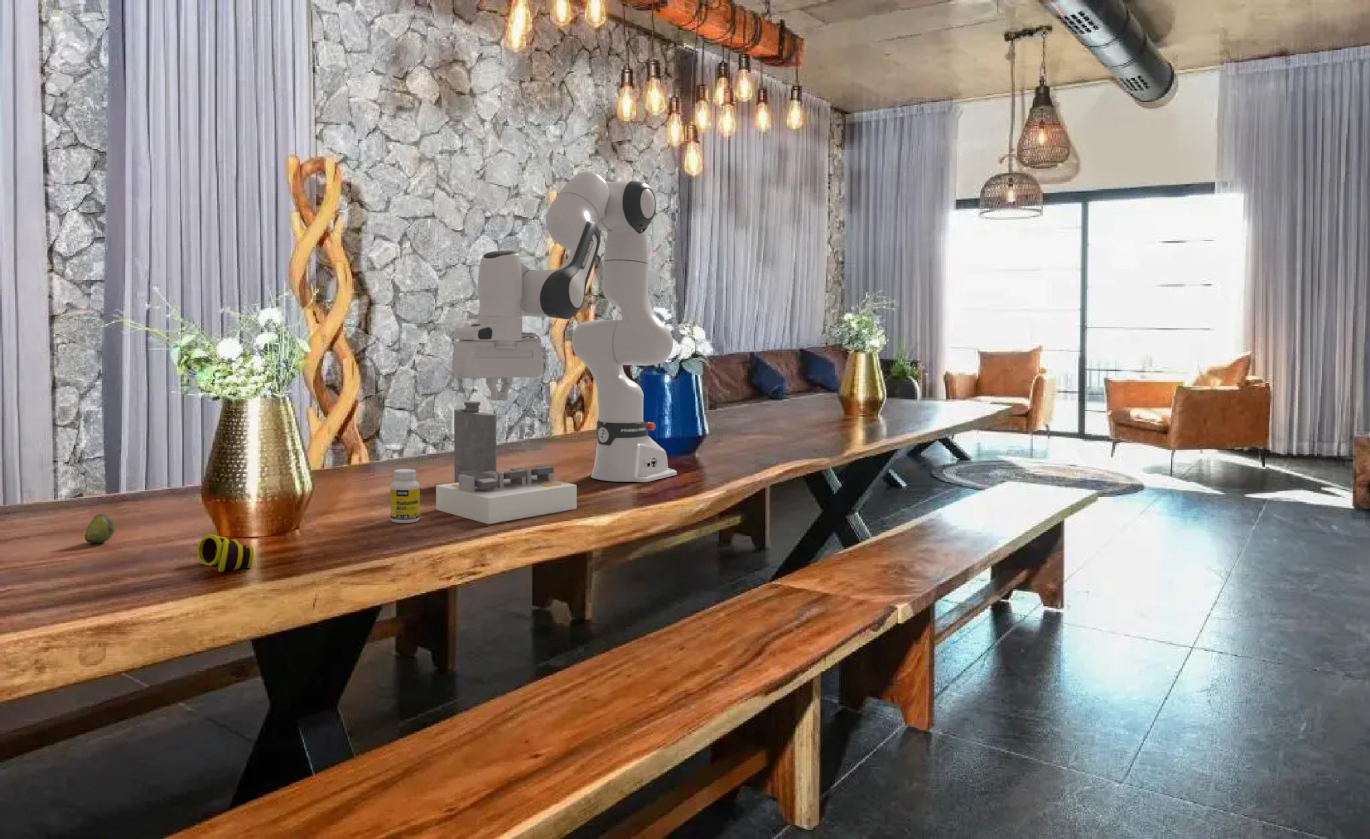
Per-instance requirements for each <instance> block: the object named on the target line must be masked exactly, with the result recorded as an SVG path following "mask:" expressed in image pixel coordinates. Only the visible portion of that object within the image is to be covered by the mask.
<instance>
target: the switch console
mask: <svg viewBox="0 0 1370 839" xmlns="http://www.w3.org/2000/svg"><path fill="white" fill-rule="evenodd" d="M542 467H551V466H550V465H545V464H537V465H536V468H542ZM531 469H532V468H524V467H520V466H518V467H512V468H509V470H510V471H518V470H524V471H527V477H521V478H513V479H504V472H501V471H497V472H496V471H488V472H482V473H483V474H485V475H487V476H489V477H491V478H493V479H495V480H497V481H499V485H498V487H496V488H489V489H482V490H481V489H479V488H477V487H476V486H475V477H472V476H468V475H463V474H462V475H459V482H458V483H455V482H453V483H452V482H451V483H444V484H436V485H435V497H436V498H435V510H437V511H440V512H443V513H447V514H451V515H454V516H458V517H461V518H465V519H468V520H473V521H476V522H480V523H483V524H487V525H491V524H497V523H503V522H507V521H514V520H520V519H524V518H530V517H537V516H543V515H544V516H545V515H548V514H555V513H560V512H566V511H571V510H577V509H578V508H577V507H578V506H577V502H578V501H577V499H578V498H577V496H578V495H577V493H578V488H577V487H578V486H577V484H573V483H569V482H565V481H559V480H555V479H553V478H554V476H553V475H554V473H550V474H543V475H533V476H531V472H532V470H531ZM510 471H509V472H510Z"/></svg>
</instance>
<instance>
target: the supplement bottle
mask: <svg viewBox="0 0 1370 839" xmlns="http://www.w3.org/2000/svg"><path fill="white" fill-rule="evenodd" d="M393 472H394V474H393V475H394V476H393V477H394V479H395V480H394V481H392V482H391V484H390V521H391V522H393V523H397V524H409V523H415V522H418V521H419V520H420V517H421V516H420V514H421V511H420V506H421V502H420V501H421V500H420V499H421V497H420V496H421V492H420V491H421V490H420V489H421V488H420V486H421V485H420V482H418V481H417V480H416V478H417V470H415V469H410V468H400V469H395V470H393Z"/></svg>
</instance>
